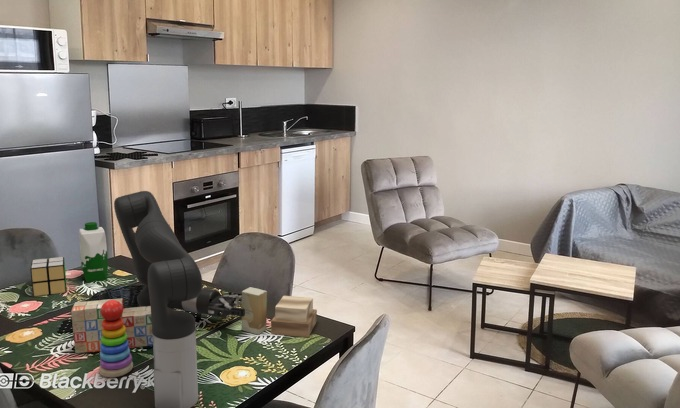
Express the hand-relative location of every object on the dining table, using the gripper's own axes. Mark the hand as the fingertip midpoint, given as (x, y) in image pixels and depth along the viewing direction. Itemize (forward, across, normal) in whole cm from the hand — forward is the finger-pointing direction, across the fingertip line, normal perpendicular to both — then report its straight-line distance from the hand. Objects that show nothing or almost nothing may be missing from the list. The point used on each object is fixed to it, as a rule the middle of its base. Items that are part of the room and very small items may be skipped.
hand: (251, 307), depth 167 cm
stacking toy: (-21, -33, +7) cm, 40 cm away
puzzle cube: (-78, +7, +7) cm, 79 cm away
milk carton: (-72, +22, +7) cm, 76 cm away
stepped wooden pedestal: (+11, +5, +7) cm, 14 cm away
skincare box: (+1, 0, +7) cm, 7 cm away
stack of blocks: (-30, -20, +7) cm, 37 cm away
